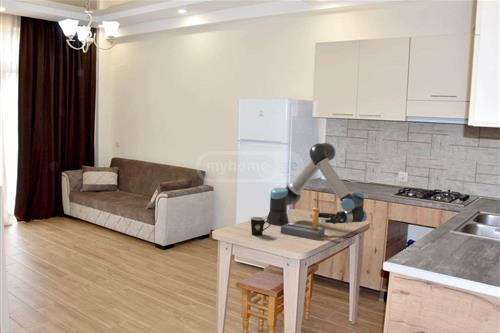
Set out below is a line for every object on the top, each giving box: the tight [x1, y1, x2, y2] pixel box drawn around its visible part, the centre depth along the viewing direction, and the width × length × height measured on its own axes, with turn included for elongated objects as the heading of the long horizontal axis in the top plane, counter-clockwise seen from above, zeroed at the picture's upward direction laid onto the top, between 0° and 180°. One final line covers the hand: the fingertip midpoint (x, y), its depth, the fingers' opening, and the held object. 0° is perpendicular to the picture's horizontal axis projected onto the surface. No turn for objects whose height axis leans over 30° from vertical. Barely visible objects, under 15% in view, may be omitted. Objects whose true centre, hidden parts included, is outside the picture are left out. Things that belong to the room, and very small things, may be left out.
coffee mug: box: [250, 216, 271, 237], centre depth 271 cm, size 12×9×10 cm
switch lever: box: [311, 207, 321, 231], centre depth 273 cm, size 4×4×16 cm
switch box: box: [280, 222, 326, 241], centre depth 278 cm, size 24×14×4 cm, turn 62°
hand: (314, 218), depth 273 cm, fingers open, 13 cm apart
